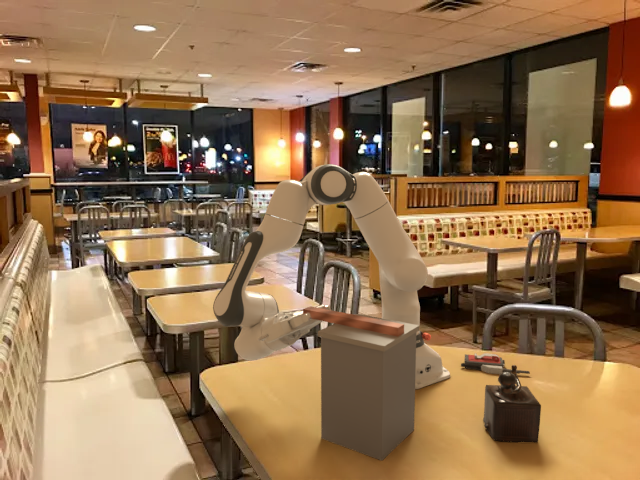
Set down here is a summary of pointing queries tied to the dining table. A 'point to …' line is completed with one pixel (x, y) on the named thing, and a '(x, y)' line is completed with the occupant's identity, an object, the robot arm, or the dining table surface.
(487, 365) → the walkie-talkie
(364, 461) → the dining table surface
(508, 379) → the manual coffee grinder
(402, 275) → the robot arm
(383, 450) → the shelf block
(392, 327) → the copper-colored stick
